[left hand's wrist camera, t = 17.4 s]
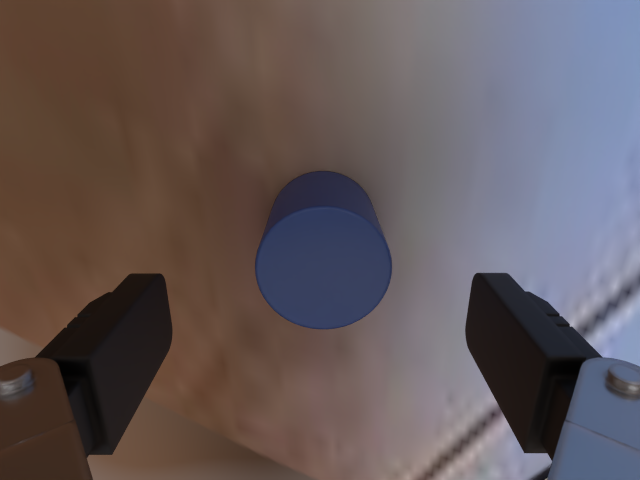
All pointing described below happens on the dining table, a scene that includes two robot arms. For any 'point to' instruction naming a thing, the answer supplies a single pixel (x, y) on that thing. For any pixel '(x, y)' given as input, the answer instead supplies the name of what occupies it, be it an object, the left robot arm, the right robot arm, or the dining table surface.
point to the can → (323, 253)
